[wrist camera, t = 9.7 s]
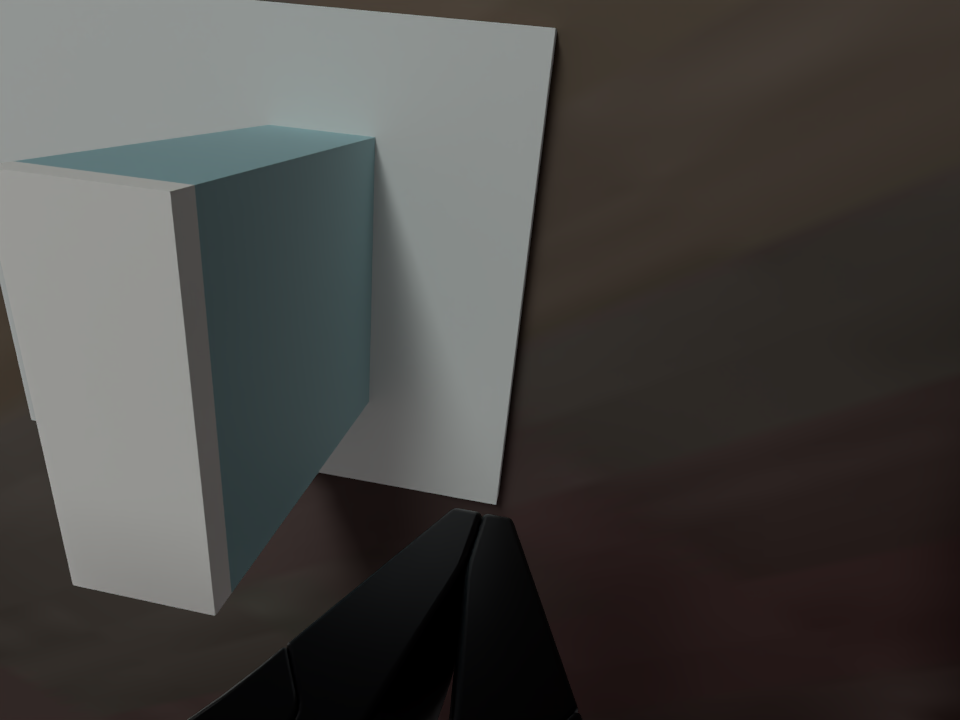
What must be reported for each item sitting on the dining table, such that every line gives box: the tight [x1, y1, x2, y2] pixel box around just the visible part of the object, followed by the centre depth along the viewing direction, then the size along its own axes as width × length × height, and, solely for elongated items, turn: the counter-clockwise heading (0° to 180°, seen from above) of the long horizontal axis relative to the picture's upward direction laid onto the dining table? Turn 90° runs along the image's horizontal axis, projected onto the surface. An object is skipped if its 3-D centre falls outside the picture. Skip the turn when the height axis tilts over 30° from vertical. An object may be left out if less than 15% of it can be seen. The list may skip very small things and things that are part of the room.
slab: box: [0, 125, 375, 616], centre depth 15 cm, size 3×8×9 cm, turn 174°
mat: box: [0, 0, 557, 505], centre depth 20 cm, size 17×14×1 cm
